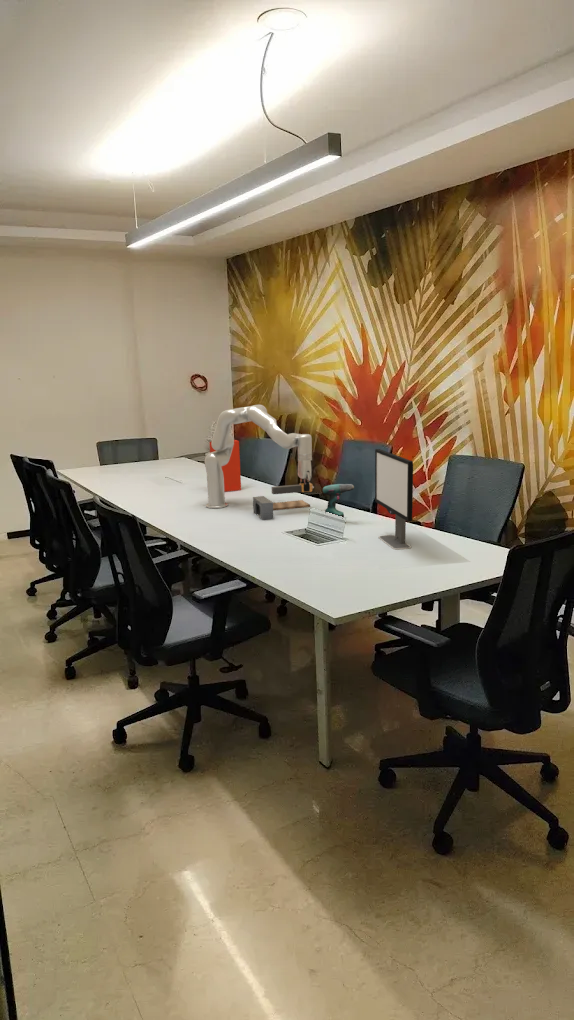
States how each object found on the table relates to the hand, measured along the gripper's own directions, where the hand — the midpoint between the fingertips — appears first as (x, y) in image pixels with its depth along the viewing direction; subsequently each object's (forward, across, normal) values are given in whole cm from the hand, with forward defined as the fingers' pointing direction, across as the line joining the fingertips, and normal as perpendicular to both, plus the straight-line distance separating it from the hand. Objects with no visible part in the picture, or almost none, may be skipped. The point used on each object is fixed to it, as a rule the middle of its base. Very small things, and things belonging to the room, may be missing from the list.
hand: (305, 490), depth 356 cm
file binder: (+13, -77, -27) cm, 83 cm away
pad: (+12, -17, -7) cm, 22 cm away
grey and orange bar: (+1, 0, -8) cm, 8 cm away
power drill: (+12, +29, +8) cm, 32 cm away
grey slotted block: (+12, 0, -24) cm, 27 cm away
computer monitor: (+12, +74, +16) cm, 77 cm away
